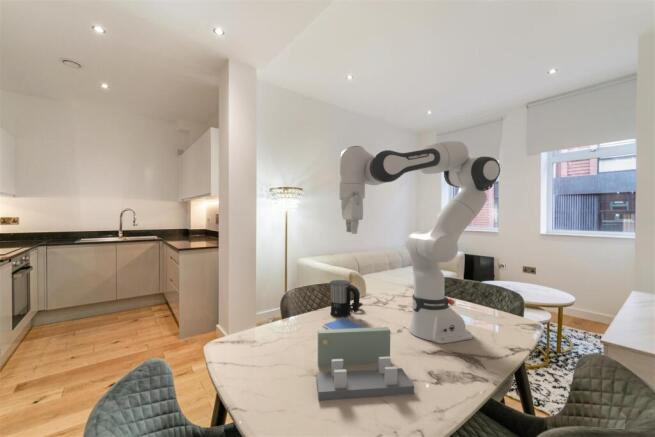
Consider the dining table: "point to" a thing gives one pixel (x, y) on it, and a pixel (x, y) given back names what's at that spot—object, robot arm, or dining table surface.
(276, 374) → the dining table surface
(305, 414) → the dining table surface
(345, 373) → the hinge base
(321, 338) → the cabinet door
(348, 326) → the tablet computer
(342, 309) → the milk frother
